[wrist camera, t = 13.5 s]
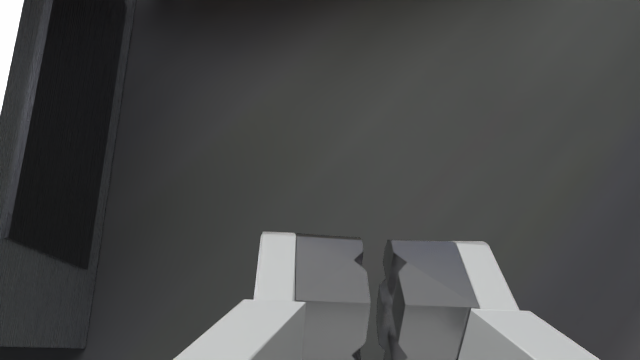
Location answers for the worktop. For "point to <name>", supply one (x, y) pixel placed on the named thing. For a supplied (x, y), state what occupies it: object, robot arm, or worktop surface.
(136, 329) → the worktop surface
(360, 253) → the robot arm
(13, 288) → the camera body
